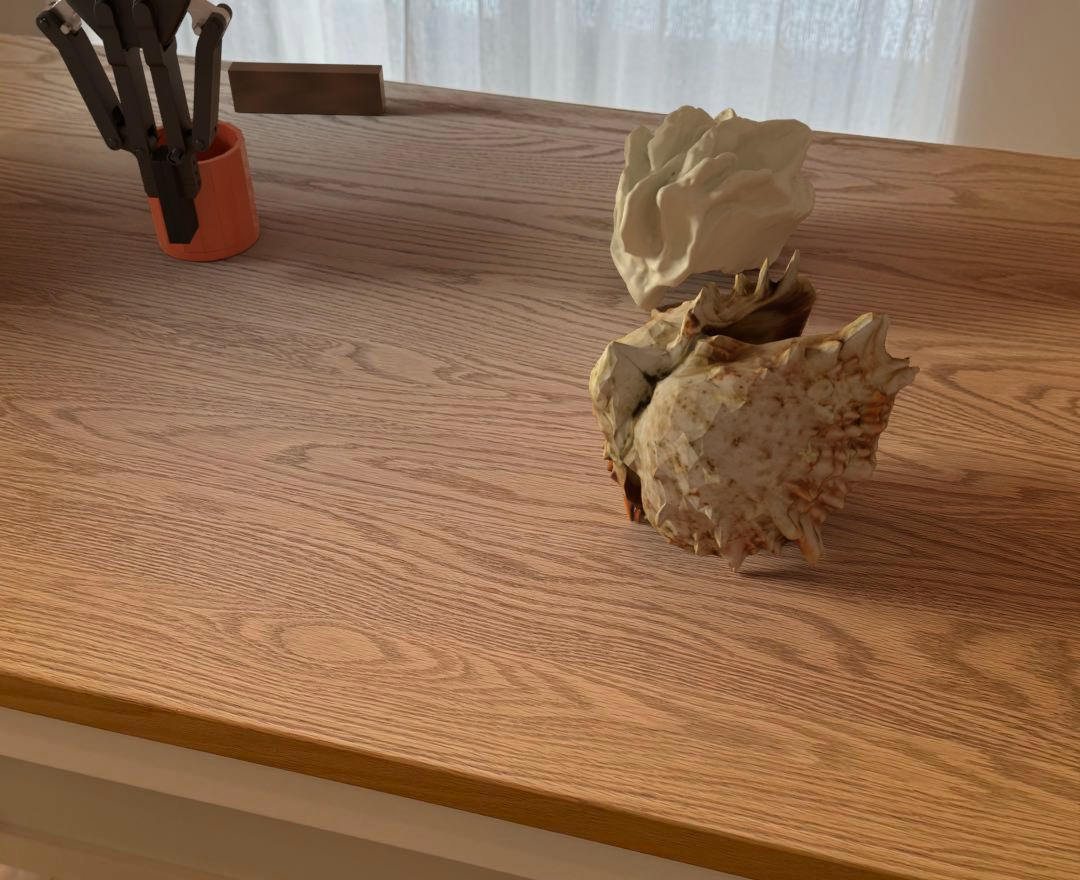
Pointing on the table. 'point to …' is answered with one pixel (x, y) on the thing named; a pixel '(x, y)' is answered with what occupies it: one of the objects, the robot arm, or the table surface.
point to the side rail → (307, 88)
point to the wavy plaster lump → (707, 198)
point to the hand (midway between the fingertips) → (184, 234)
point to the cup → (217, 201)
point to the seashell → (744, 416)
